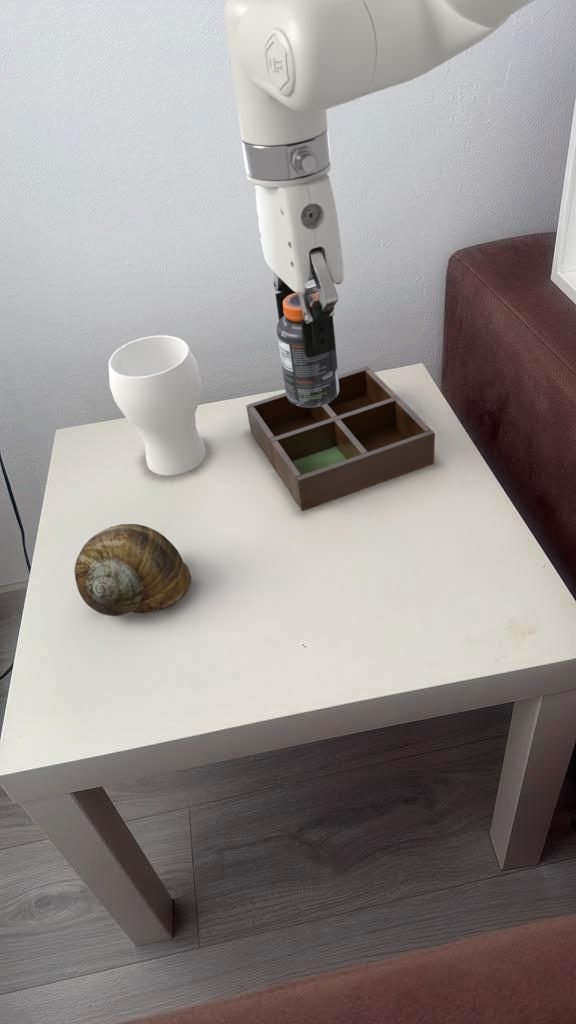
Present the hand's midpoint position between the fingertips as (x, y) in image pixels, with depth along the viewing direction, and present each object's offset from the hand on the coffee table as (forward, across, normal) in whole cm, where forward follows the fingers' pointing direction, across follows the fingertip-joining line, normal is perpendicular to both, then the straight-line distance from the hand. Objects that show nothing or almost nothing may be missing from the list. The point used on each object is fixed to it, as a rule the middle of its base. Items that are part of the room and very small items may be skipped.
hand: (306, 337), depth 76 cm
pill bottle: (+7, 0, 0) cm, 7 cm away
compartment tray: (+19, +4, -4) cm, 20 cm away
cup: (+19, +13, +15) cm, 28 cm away
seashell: (+19, -8, +25) cm, 32 cm away
